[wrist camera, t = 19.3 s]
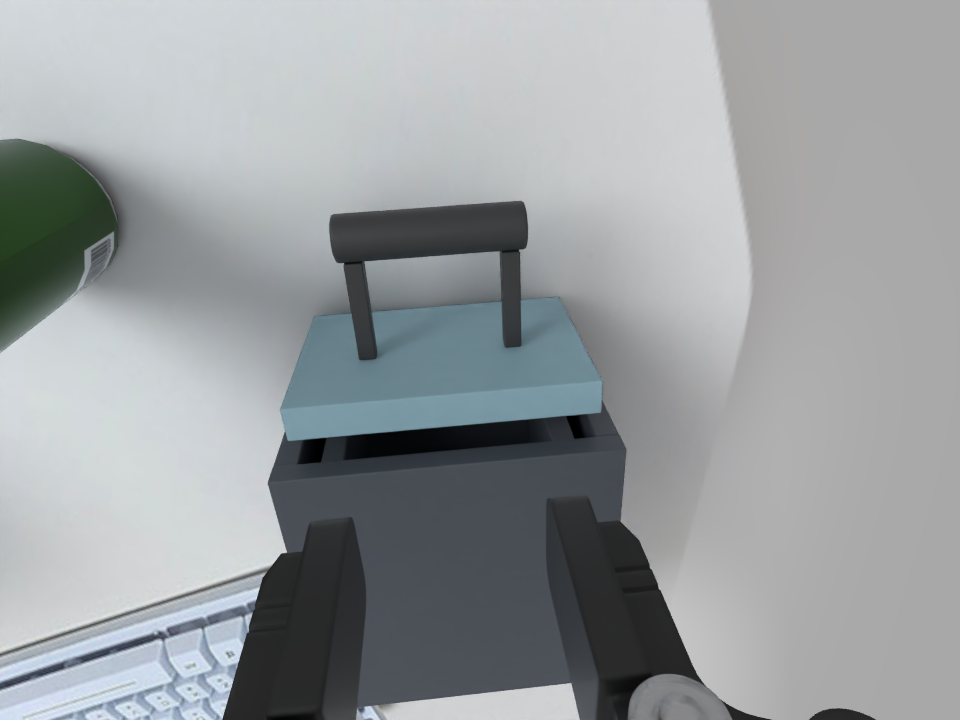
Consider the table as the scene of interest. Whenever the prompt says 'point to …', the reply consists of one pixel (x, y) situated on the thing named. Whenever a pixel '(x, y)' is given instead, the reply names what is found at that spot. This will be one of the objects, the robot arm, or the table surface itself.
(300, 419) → the drawer
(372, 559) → the dark grey storage bin
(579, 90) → the table surface
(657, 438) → the table surface
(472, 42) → the table surface
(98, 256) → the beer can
